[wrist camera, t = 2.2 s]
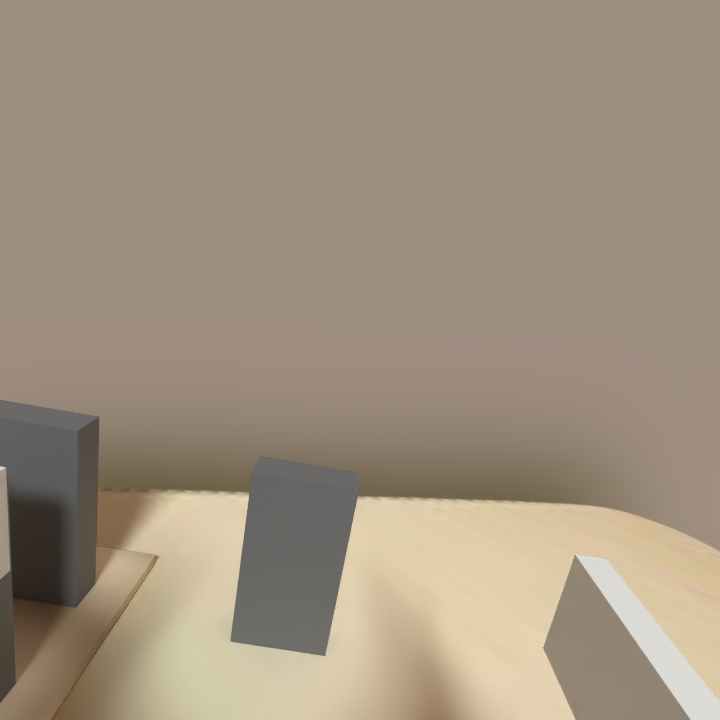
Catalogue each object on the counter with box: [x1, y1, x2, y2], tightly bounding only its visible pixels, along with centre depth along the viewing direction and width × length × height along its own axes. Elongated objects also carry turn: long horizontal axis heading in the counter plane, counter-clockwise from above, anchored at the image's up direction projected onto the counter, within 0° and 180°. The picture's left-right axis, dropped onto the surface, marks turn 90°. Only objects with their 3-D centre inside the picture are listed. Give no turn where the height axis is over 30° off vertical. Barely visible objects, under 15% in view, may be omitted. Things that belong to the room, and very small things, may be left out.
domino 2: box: [231, 456, 359, 656], centre depth 22 cm, size 2×5×10 cm, turn 90°
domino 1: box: [0, 400, 99, 608], centre depth 21 cm, size 2×5×10 cm, turn 90°
